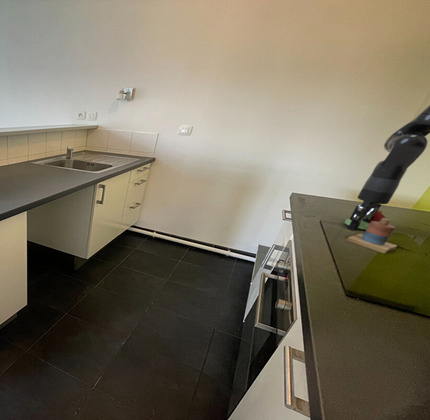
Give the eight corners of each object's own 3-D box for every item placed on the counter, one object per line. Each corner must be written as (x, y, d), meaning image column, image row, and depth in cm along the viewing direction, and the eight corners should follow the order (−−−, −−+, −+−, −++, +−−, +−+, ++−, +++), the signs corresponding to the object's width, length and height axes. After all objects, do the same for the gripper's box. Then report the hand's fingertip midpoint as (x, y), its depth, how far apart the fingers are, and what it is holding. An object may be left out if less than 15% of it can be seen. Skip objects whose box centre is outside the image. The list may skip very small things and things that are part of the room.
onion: (366, 230, 98) (377, 211, 95) (353, 224, 103) (363, 206, 100) (384, 232, 96) (395, 213, 93) (370, 226, 102) (381, 208, 99)
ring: (349, 221, 100) (351, 217, 100) (373, 228, 95) (375, 224, 94) (341, 223, 98) (343, 219, 97) (365, 230, 92) (367, 226, 92)
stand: (357, 237, 91) (372, 212, 87) (395, 249, 83) (413, 223, 80) (346, 240, 88) (360, 215, 84) (384, 253, 80) (402, 226, 76)
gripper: (385, 193, 85) (360, 236, 91) (402, 190, 90) (377, 230, 96) (355, 187, 91) (333, 227, 97) (371, 185, 97) (350, 223, 103)
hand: (355, 229), depth 97 cm, fingers closed on ring, 6 cm apart
